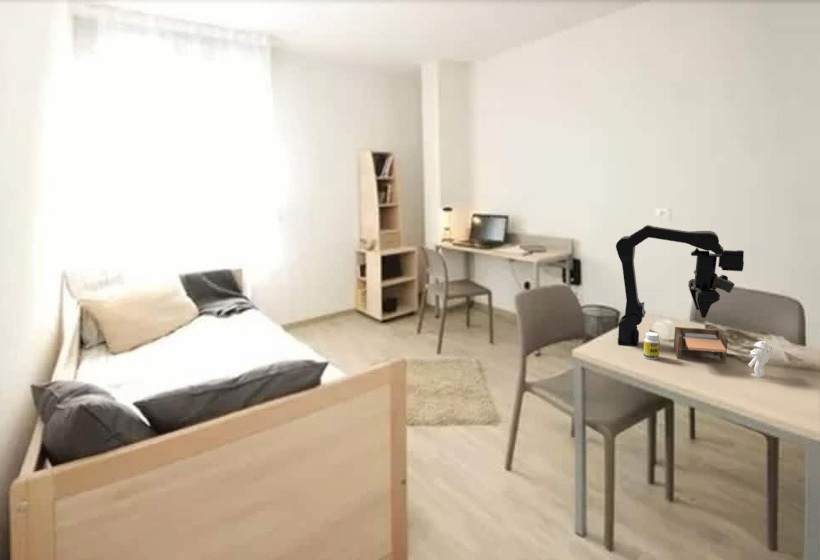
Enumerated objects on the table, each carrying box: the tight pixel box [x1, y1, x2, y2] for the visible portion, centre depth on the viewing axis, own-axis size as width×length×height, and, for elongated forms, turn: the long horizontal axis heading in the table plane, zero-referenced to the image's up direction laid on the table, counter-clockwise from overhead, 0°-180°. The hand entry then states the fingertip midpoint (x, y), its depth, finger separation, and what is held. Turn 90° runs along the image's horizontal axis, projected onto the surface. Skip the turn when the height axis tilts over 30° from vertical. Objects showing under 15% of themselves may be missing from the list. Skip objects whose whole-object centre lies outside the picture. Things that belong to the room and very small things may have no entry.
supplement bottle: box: [642, 331, 660, 360], centre depth 165 cm, size 5×5×8 cm
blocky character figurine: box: [748, 340, 774, 379], centre depth 147 cm, size 9×4×12 cm, turn 117°
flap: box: [683, 333, 726, 353], centre depth 159 cm, size 11×14×4 cm
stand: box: [673, 326, 729, 363], centre depth 165 cm, size 14×10×8 cm
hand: (700, 313), depth 166 cm, fingers open, 9 cm apart
